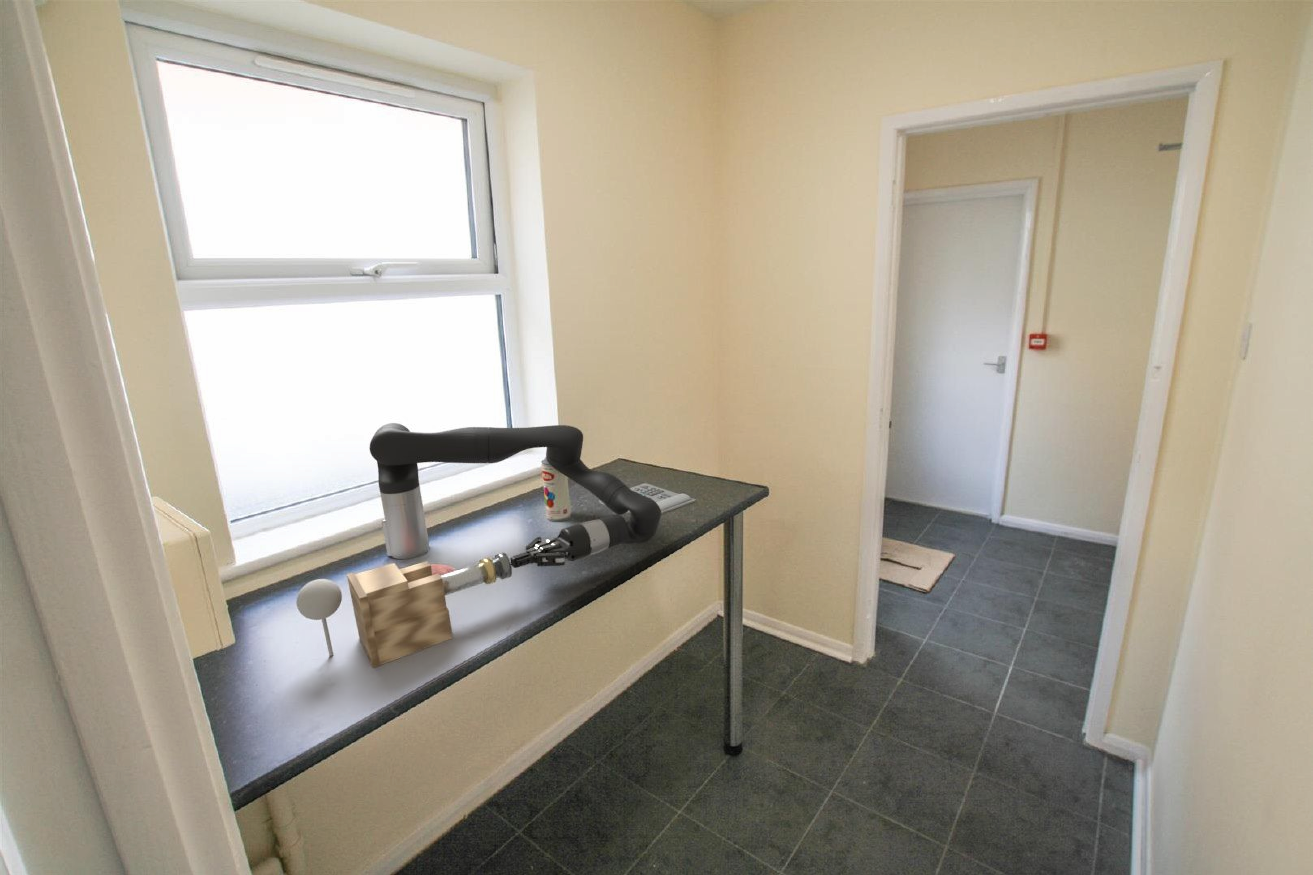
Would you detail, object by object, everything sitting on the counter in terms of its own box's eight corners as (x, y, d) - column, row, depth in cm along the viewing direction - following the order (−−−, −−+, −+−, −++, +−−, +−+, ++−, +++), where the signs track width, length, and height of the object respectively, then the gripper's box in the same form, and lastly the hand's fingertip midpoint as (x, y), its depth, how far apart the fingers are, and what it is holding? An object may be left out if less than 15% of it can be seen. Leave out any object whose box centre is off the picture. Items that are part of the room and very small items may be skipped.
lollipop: (359, 642, 115) (345, 570, 111) (341, 665, 108) (325, 589, 105) (321, 645, 115) (306, 573, 111) (301, 668, 108) (284, 592, 104)
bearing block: (373, 667, 107) (359, 598, 104) (359, 638, 116) (346, 574, 113) (453, 637, 115) (442, 572, 112) (434, 612, 124) (424, 551, 121)
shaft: (427, 609, 115) (423, 584, 113) (419, 599, 119) (415, 575, 117) (513, 580, 124) (510, 557, 123) (503, 571, 128) (500, 549, 127)
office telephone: (696, 495, 179) (646, 514, 166) (697, 503, 180) (646, 523, 167) (645, 478, 196) (595, 495, 183) (645, 486, 197) (596, 503, 184)
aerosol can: (542, 518, 173) (534, 450, 168) (561, 511, 178) (555, 445, 173) (556, 523, 168) (549, 454, 163) (575, 516, 173) (569, 449, 168)
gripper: (569, 516, 140) (497, 536, 131) (598, 532, 130) (523, 556, 120) (571, 546, 142) (501, 568, 133) (600, 564, 132) (527, 590, 122)
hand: (512, 562), depth 126 cm, fingers closed
